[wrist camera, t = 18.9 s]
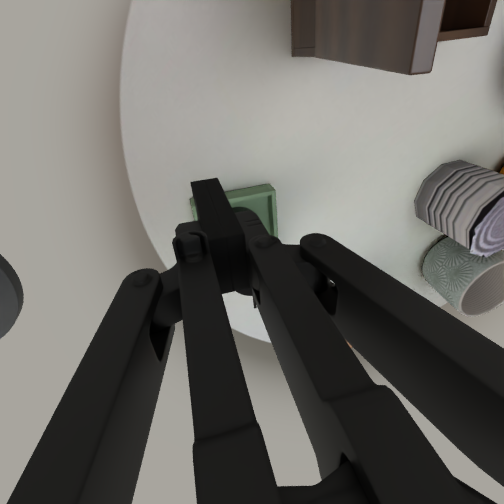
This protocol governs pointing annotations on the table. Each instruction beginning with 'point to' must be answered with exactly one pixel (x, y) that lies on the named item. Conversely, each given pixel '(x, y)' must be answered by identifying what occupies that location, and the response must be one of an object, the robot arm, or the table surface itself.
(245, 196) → the tray
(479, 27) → the chest
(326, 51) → the lid
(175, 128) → the table surface
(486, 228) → the can
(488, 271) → the planter
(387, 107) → the table surface
